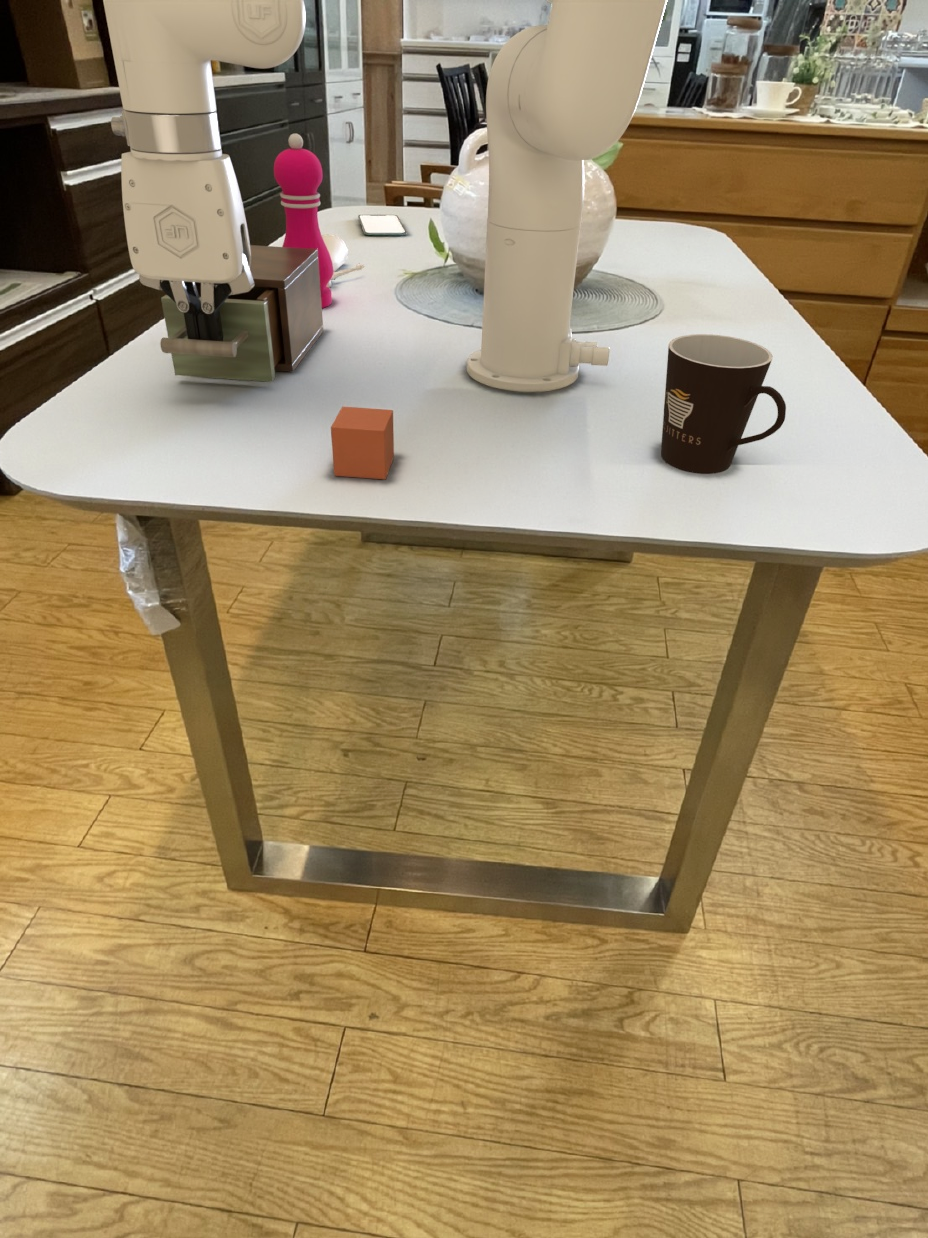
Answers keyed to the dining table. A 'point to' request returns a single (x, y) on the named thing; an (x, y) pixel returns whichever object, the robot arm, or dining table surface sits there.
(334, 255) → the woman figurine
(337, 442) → the block
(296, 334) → the cabinet
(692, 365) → the coffee mug
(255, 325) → the drawer
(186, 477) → the dining table surface
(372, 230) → the smartphone
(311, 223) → the pepper mill
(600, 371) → the dining table surface
